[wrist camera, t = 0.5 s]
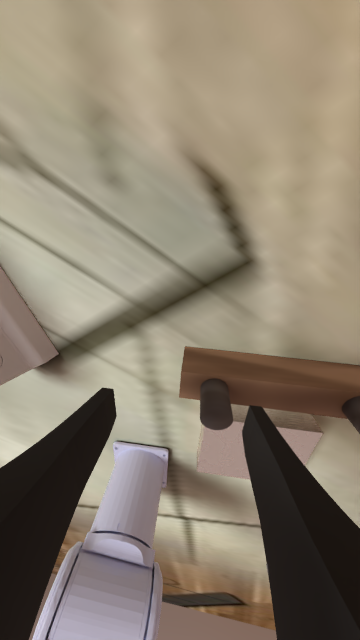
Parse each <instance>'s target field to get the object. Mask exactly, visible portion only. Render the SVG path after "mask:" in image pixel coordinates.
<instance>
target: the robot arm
mask: <svg viewBox="0 0 360 640" xmlns="http://www.w3.org/2000/svg"><path fill="white" fill-rule="evenodd" d="M115 419H116V407H115V399H114V391H113V389H108V388H102V389H100V390H99V391H98V392H97V393H96V394H95V395H94V396H92V397H91V398H90V399H89V400H88V401H87V402H86V403H85V404H83V405H82V406H81V407H80V408H79V409H78V410H77V411H75V412H74V413H73V414H72V415H71V416H70V417H68V418H67V419H66V420H65V421H64V422H63V423H61V424H60V425H59V426H58V427H56V428H55V429H54V430H53V431H51V432H50V433H49V434H48V435H46V436H45V437H44V438H42V439H41V440H40V441H38V442H37V443H36V444H34V445H33V446H32V447H30V448H29V449H28V450H26V451H25V452H23V453H22V454H21V455H19V456H18V457H16V458H15V459H13V460H12V461H10V462H9V463H7V464H6V465H4V466H3V467H1V468H0V640H29V637H30V634H31V631H32V628H33V625H34V622H35V619H36V616H37V613H38V610H39V608H40V605H41V602H42V599H43V596H44V592H45V590H46V587H47V584H48V582H49V579H50V576H51V573H52V570H53V568H54V565H55V562H56V559H57V556H58V554H59V551H60V548H61V546H62V543H63V540H64V538H65V535H66V532H67V530H68V527H69V525H70V522H71V519H72V517H73V514H74V512H75V509H76V507H77V504H78V502H79V499H80V497H81V494H82V492H83V490H84V488H85V485H86V483H87V481H88V479H89V477H90V475H91V473H92V471H93V469H94V467H95V465H96V463H97V461H98V459H99V457H100V454H101V452H102V450H103V448H104V446H105V444H106V442H107V440H108V438H109V435H110V433H111V430H112V427H113V425H114V422H115ZM242 437H243V445H244V452H245V458H246V462H247V466H248V471H249V475H250V479H251V484H252V488H253V492H254V496H255V501H256V505H257V509H258V514H259V519H260V524H261V529H262V536H263V542H264V548H265V555H266V561H267V568H268V575H269V582H270V589H271V596H272V604H273V611H274V619H275V627H276V634H277V640H360V528H359V527H358V526H357V525H356V524H355V523H354V522H353V521H352V520H351V519H350V518H349V517H348V516H347V515H346V513H345V512H344V511H343V510H342V509H341V508H340V507H339V506H338V505H337V504H336V502H335V501H334V500H333V499H332V498H331V497H330V496H329V494H328V493H327V492H326V491H325V490H324V489H323V488H322V486H321V485H320V484H319V483H318V482H317V480H316V479H315V478H314V477H313V476H312V474H311V473H310V472H309V471H308V469H307V468H306V467H305V466H304V464H303V463H302V462H301V460H300V459H299V458H298V457H297V455H296V454H295V453H294V451H293V450H292V449H291V447H290V446H289V445H288V443H287V442H286V441H285V439H284V438H283V436H282V435H281V434H280V432H279V431H278V429H277V428H276V426H275V425H274V424H273V422H272V421H271V419H270V418H269V416H268V415H267V413H266V412H265V410H264V409H263V408H262V406H253V405H249V408H248V412H247V415H246V419H245V423H244V426H243V430H242ZM113 450H114V457H115V466H114V469H113V471H112V474H111V477H110V479H109V482H108V485H107V487H106V490H105V493H104V495H103V498H102V501H101V503H100V506H99V509H98V512H97V514H96V517H95V520H94V522H93V525H92V528H91V530H90V532H88V533H87V536H86V538H85V541H84V543H83V542H80V541H79V542H77V543H76V544H75V545H74V546H73V547H72V548H70V549H69V551H68V553H67V555H66V557H65V559H64V561H63V563H62V565H61V567H60V570H59V572H58V574H57V577H56V579H55V581H54V583H53V586H52V588H51V591H50V593H49V596H48V598H47V601H46V603H45V606H44V608H43V611H42V614H41V616H40V619H39V622H38V624H37V627H36V630H35V633H34V636H33V639H32V640H157V635H158V629H159V621H160V612H161V603H162V574H161V571H160V568H159V564H158V563H157V562H154V556H155V550H154V549H152V546H153V539H154V533H155V526H156V520H157V513H158V507H159V501H160V494H161V488H165V487H166V484H167V469H168V453H169V451H168V449H165V448H158V447H151V446H145V445H138V444H131V443H124V442H114V444H113Z"/></svg>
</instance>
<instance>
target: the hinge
mask: <svg viewBox="0 0 360 640" xmlns="http://www.w3.org/2000/svg"><path fill="white" fill-rule="evenodd" d="M58 354H59V353H58V352H57V350H56V349H55V347H54V346H53V344H52V343H51V341H50V340H49V338H48V337H47V335H46V334H45V332H44V331H43V329H42V328H41V326H40V325H39V323H38V322H37V320H36V319H35V317H34V316H33V314H32V313H31V311H30V310H29V308H28V307H27V305H26V304H25V302H24V301H23V299H22V298H21V296H20V295H19V293H18V292H17V290H16V289H15V287H14V286H13V284H12V283H11V281H10V280H9V278H8V277H7V275H6V274H5V272H4V271H3V270H2V268H1V267H0V385H2V384H4V383H6V382H8V381H10V380H12V379H14V378H16V377H18V376H19V375H21V374H23V373H25V372H27V371H29V370H31V369H33V368H35V367H37V366H40V365H42V364H44V363H46V362H48V361H49V360H50V359H52V358H53V357H55V356H56V355H58Z"/></svg>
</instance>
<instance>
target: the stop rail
mask: <svg viewBox="0 0 360 640" xmlns="http://www.w3.org/2000/svg"><path fill="white" fill-rule="evenodd" d="M179 397H180V398H188V399H196V400H200V420H201V423H202V424H203V425H204V426H205V427H207V428H209V429H212V430H223V429H226V428H228V427H230V426H231V424H232V423H233V414H232V408H231V404H235V405H243V406H249V405H253V406H262V408H267V409H275V410H282V411H290V412H298V413H306V414H314V415H322V416H330V417H338V418H345V419H349V421H350V422H351V423H352V424H353V426H354V427H355V428H356V430H357V431H358V432H359V433H360V366H359V365H350V364H341V363H331V362H322V361H313V360H304V359H295V358H286V357H277V356H267V355H258V354H249V353H240V352H231V351H222V350H213V349H203V348H194V347H185V350H184V357H183V364H182V371H181V382H180V394H179Z"/></svg>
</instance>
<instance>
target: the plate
mask: <svg viewBox="0 0 360 640" xmlns="http://www.w3.org/2000/svg"><path fill="white" fill-rule="evenodd" d="M231 408H232V414H233V423H232V424H231V426H230V427H228V428H226V429H223V430H212V429H209V428H207V427H205V426H204V425H203V424H202V425H201V431H200V437H199V443H198V449H197V472H204V473H211V474H217V475H224V476H231V477H237V478H244V479H250V475H249V471H248V466H247V462H246V458H245V452H244V445H243V437H242V430H243V426H244V423H245V419H246V415H247V412H248V408H249V406H243V405H235V404H231ZM263 409H264V410H265V412H266V413H267V415H268V416H269V418H270V419H271V421H272V422H273V424H274V425H275V426H276V428H277V429H278V431H279V432H280V434H281V435H282V436H283V438H284V439H285V441H286V442H287V443H288V445H289V446H290V447H291V449H292V450H293V451H294V453H295V454H296V455H297V457H298V458H299V459H300V460H301V462H302V463H303V464H304V465H305V464H306V462H307V460H308V459H309V457H310V455H311V453H312V452H313V450H314V448H315V446H316V445H317V443H318V441H319V439H320V438H321V436H322V434H323V432H322V431H321V429H320V427H319V426H318V424H317V422H316V421H315V419H314V417H313V416H312V414H306V413H298V412H290V411H282V410H275V409H267V408H263Z"/></svg>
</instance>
